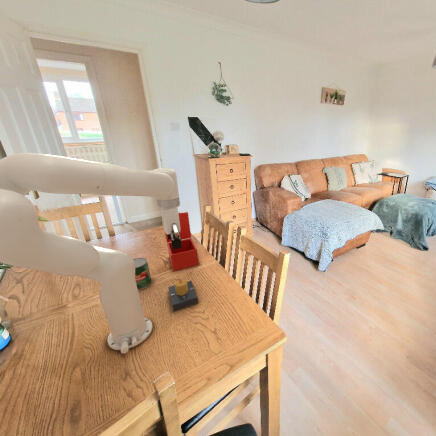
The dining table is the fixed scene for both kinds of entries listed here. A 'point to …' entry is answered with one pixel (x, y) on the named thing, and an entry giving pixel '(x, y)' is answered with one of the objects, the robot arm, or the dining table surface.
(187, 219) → the red box lid
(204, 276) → the dining table surface
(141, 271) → the canned tomato
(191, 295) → the panel
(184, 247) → the open red box
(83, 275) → the robot arm
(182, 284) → the knob
